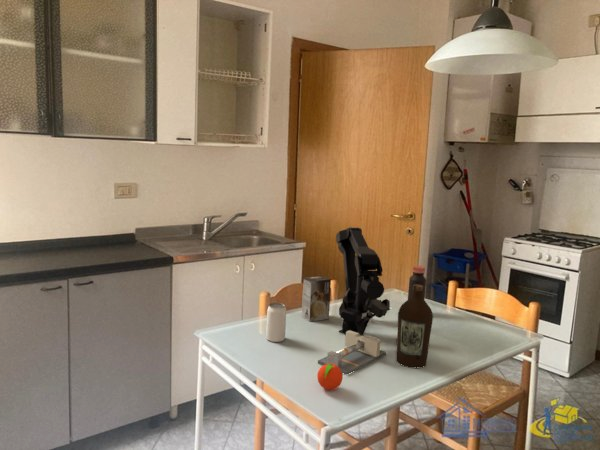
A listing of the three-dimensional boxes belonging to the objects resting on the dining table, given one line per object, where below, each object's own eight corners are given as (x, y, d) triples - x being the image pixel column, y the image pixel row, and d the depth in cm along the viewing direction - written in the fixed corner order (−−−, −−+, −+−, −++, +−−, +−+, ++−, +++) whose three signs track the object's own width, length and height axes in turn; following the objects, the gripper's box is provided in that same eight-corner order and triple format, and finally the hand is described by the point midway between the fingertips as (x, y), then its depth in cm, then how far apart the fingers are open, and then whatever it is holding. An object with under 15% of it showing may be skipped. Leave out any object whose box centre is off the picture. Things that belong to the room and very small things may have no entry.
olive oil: (397, 353, 163) (403, 279, 160) (430, 359, 160) (437, 284, 156) (391, 365, 153) (397, 286, 150) (425, 372, 150) (433, 292, 146)
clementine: (336, 398, 130) (338, 373, 129) (311, 392, 133) (313, 367, 132) (344, 386, 138) (346, 361, 137) (321, 380, 140) (322, 356, 139)
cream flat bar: (348, 344, 164) (349, 330, 164) (379, 355, 157) (380, 340, 156) (344, 346, 163) (346, 331, 162) (376, 357, 155) (377, 342, 155)
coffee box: (320, 314, 199) (322, 275, 197) (329, 319, 194) (331, 279, 191) (300, 316, 194) (303, 277, 192) (309, 321, 189) (311, 281, 187)
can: (282, 343, 166) (284, 309, 164) (263, 341, 167) (265, 306, 165) (286, 336, 172) (288, 303, 170) (268, 334, 173) (270, 301, 172)
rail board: (357, 345, 168) (357, 342, 168) (385, 354, 161) (386, 351, 161) (317, 363, 151) (317, 360, 151) (347, 375, 144) (347, 371, 144)
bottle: (424, 316, 203) (429, 269, 201) (408, 315, 203) (412, 268, 201) (421, 311, 210) (425, 265, 207) (405, 310, 210) (409, 264, 207)
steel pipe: (366, 345, 166) (367, 334, 165) (376, 348, 163) (377, 338, 163) (326, 364, 149) (327, 352, 149) (337, 368, 146) (338, 356, 146)
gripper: (370, 300, 152) (366, 348, 155) (400, 290, 167) (396, 334, 169) (341, 292, 159) (337, 338, 162) (372, 283, 174) (368, 325, 176)
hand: (361, 334), depth 167 cm, fingers closed
